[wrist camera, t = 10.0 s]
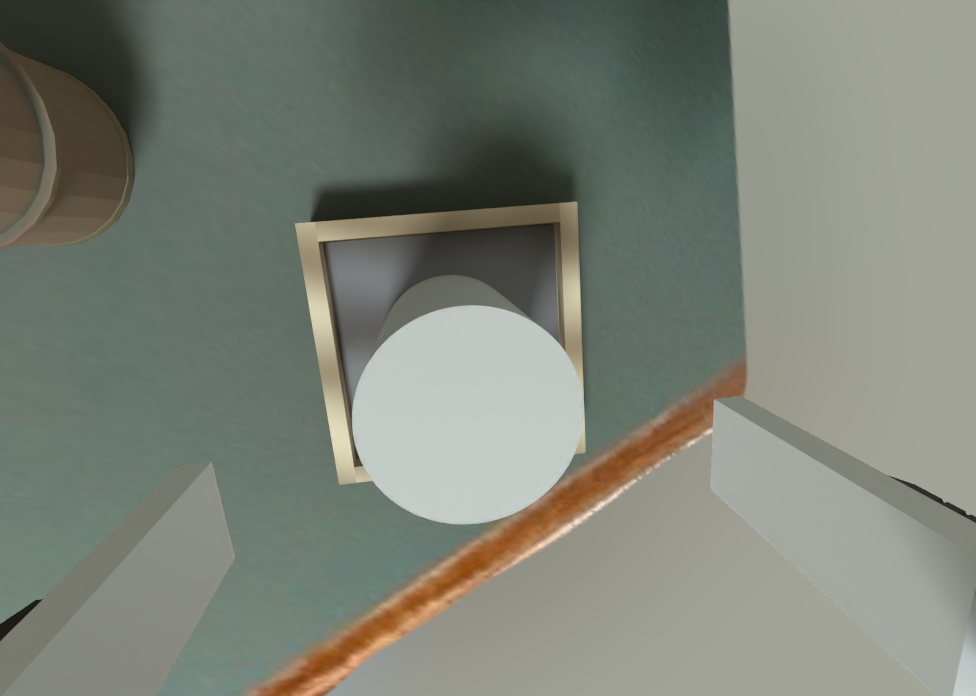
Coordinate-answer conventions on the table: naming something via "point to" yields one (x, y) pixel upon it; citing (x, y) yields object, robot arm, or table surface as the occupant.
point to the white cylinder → (465, 404)
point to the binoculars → (57, 157)
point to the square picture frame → (422, 255)
